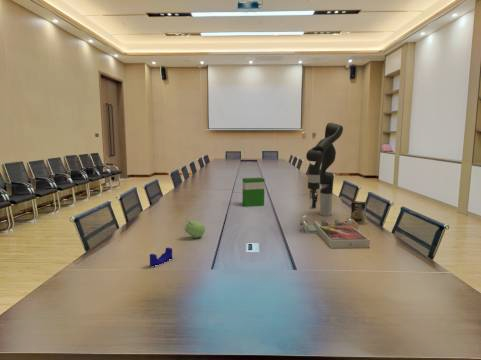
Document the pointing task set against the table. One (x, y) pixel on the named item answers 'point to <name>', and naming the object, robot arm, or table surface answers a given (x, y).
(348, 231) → the product packaging
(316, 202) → the cell
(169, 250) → the cable clip
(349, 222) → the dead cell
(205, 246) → the table surface
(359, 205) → the coffee box
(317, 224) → the grey piece
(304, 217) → the cell
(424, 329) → the table surface
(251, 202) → the hardback book
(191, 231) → the green round fruit
